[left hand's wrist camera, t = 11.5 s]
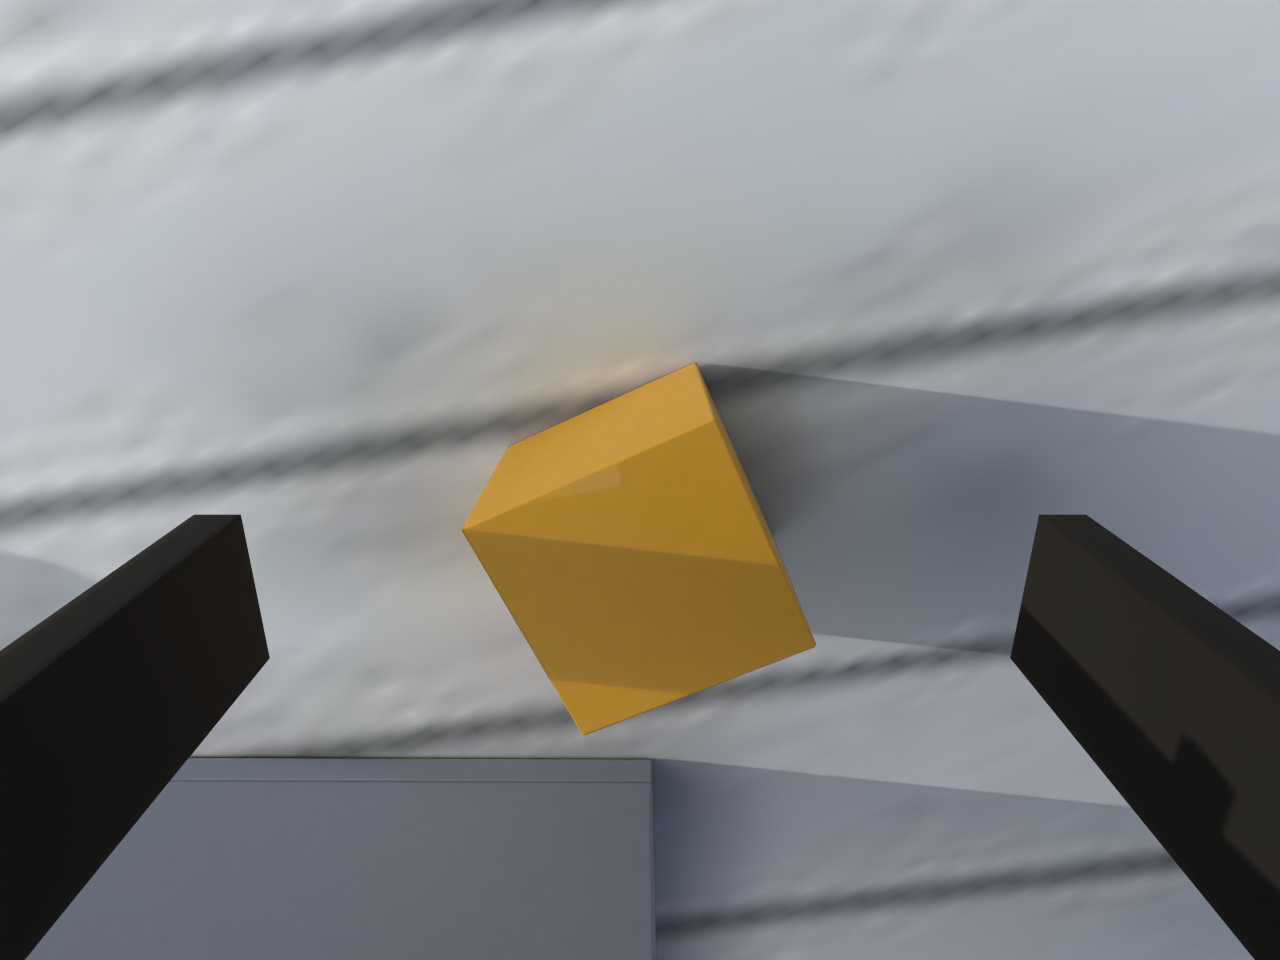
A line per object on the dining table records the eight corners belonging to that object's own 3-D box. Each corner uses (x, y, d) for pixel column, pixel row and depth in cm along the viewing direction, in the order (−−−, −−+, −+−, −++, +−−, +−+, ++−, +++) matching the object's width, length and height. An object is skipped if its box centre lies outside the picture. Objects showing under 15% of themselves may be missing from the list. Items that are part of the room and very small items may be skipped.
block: (695, 361, 16) (715, 417, 12) (773, 539, 18) (817, 647, 13) (507, 447, 17) (460, 529, 13) (596, 611, 18) (582, 737, 14)
